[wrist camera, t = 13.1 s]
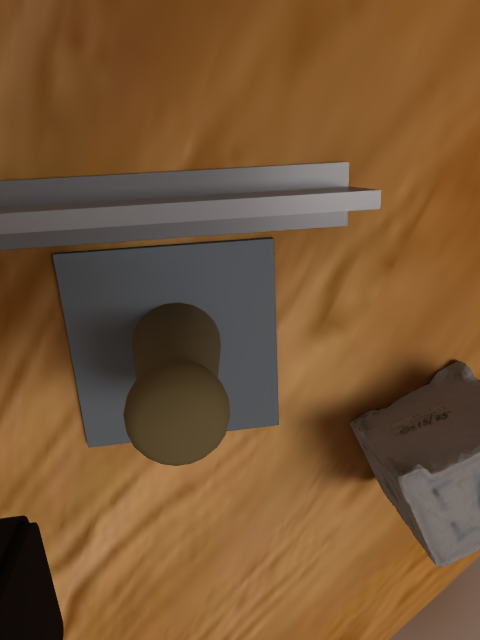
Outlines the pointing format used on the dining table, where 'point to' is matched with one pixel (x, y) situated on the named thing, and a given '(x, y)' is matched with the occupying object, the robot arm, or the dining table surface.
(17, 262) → the dining table surface
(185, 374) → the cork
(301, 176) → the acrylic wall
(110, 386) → the slate mat
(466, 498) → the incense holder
